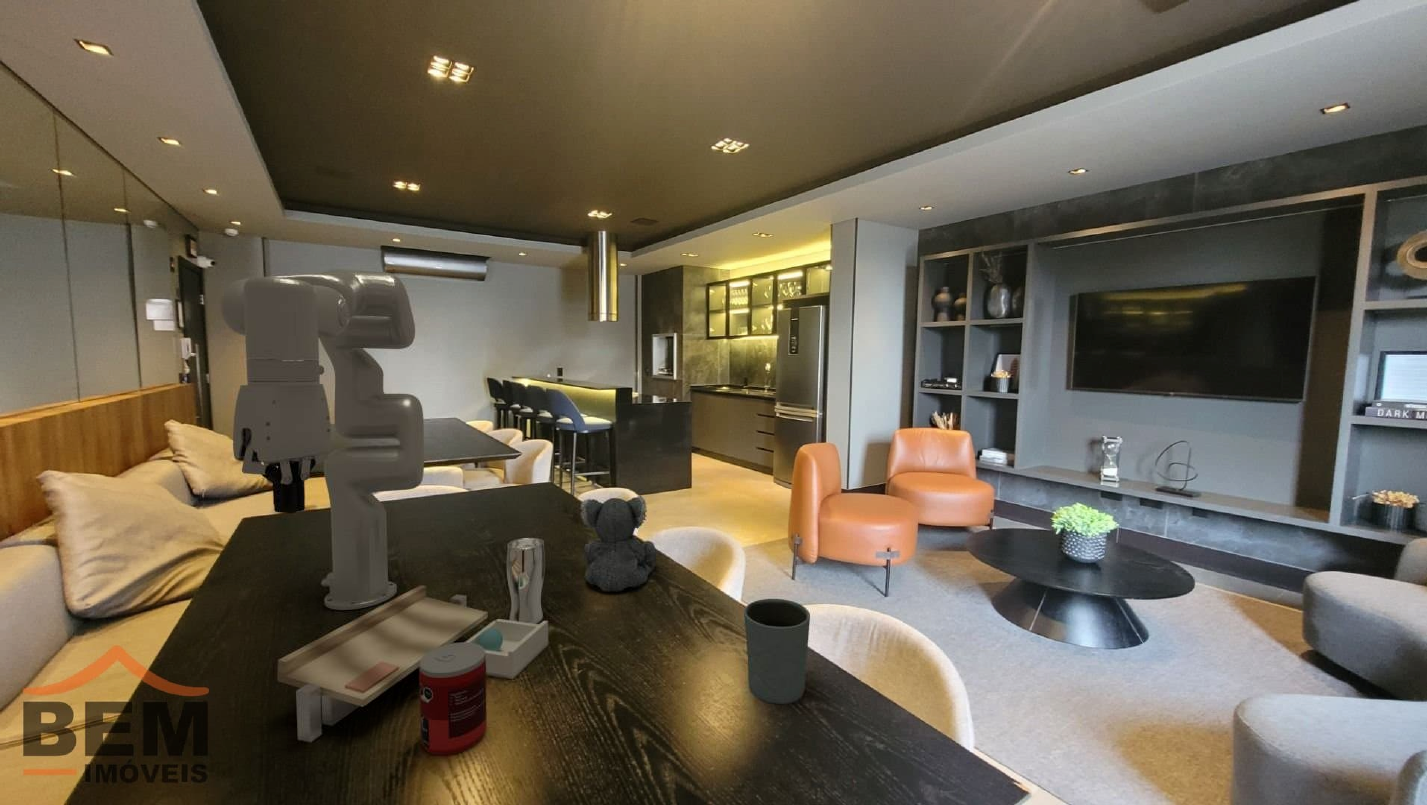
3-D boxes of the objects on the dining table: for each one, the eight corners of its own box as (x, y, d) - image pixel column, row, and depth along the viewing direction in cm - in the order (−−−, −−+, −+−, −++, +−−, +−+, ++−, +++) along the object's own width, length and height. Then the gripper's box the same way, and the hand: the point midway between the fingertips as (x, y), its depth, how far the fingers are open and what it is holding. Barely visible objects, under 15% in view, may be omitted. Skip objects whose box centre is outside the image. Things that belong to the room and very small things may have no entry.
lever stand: (457, 629, 101) (456, 594, 100) (466, 630, 100) (466, 595, 100) (297, 739, 71) (296, 690, 71) (310, 742, 71) (308, 693, 70)
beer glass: (533, 630, 101) (532, 550, 100) (499, 625, 103) (498, 547, 101) (551, 613, 108) (551, 538, 107) (519, 609, 109) (519, 536, 108)
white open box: (453, 669, 88) (453, 643, 87) (494, 637, 98) (494, 613, 98) (513, 679, 85) (512, 652, 85) (548, 645, 96) (547, 621, 95)
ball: (470, 635, 91) (491, 635, 90) (485, 624, 94) (506, 624, 94) (473, 659, 91) (494, 659, 90) (488, 646, 95) (509, 647, 94)
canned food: (435, 718, 76) (433, 642, 75) (494, 716, 76) (493, 640, 76) (409, 758, 68) (407, 673, 67) (475, 755, 69) (474, 671, 68)
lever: (420, 602, 100) (421, 584, 100) (487, 619, 97) (489, 600, 97) (275, 685, 74) (276, 660, 74) (361, 711, 71) (362, 686, 71)
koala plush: (657, 565, 135) (658, 487, 133) (651, 596, 117) (652, 506, 116) (587, 564, 134) (586, 486, 133) (570, 595, 116) (569, 505, 115)
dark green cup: (791, 715, 78) (794, 634, 77) (730, 692, 83) (731, 615, 82) (817, 681, 86) (820, 607, 85) (760, 661, 92) (762, 592, 91)
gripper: (314, 372, 80) (318, 496, 81) (197, 374, 65) (205, 524, 67) (356, 373, 78) (360, 499, 80) (247, 375, 64) (253, 529, 65)
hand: (289, 510), depth 73 cm, fingers closed
